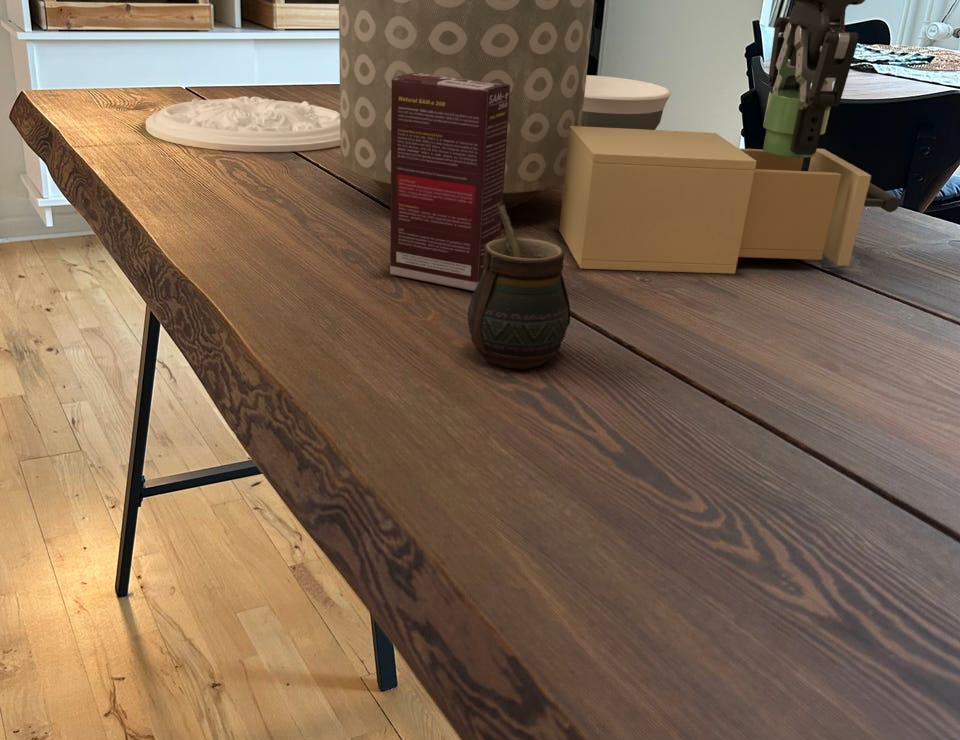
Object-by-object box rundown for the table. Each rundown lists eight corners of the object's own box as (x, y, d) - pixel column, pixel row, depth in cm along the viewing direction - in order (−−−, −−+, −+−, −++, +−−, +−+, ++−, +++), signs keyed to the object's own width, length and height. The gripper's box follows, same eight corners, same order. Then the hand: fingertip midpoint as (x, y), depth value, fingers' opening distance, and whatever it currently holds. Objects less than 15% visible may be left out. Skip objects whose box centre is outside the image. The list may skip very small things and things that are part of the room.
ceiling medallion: (262, 162, 122) (261, 134, 121) (99, 126, 134) (96, 100, 132) (399, 132, 143) (400, 108, 141) (248, 103, 155) (246, 81, 153)
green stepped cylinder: (807, 147, 99) (818, 91, 96) (829, 159, 94) (842, 101, 91) (750, 144, 98) (761, 88, 95) (770, 157, 93) (781, 98, 91)
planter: (493, 250, 97) (512, -38, 84) (291, 201, 108) (282, -61, 95) (611, 203, 115) (641, -39, 103) (429, 165, 126) (436, -58, 114)
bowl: (497, 142, 141) (501, 77, 137) (590, 131, 152) (596, 71, 148) (597, 170, 130) (605, 101, 125) (689, 156, 141) (700, 92, 136)
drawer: (849, 234, 106) (869, 150, 102) (896, 268, 97) (921, 177, 93) (678, 227, 105) (691, 142, 100) (709, 261, 95) (726, 168, 91)
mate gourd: (505, 385, 70) (516, 238, 65) (442, 348, 75) (448, 209, 70) (585, 366, 74) (602, 225, 68) (520, 332, 79) (531, 199, 73)
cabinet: (698, 235, 106) (716, 132, 101) (735, 273, 95) (757, 160, 90) (558, 230, 104) (569, 125, 99) (580, 268, 94) (593, 153, 88)
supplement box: (500, 278, 89) (514, 83, 81) (476, 294, 86) (489, 89, 77) (412, 261, 92) (417, 70, 84) (386, 275, 89) (388, 76, 80)
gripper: (913, -56, 81) (860, 165, 90) (842, -62, 93) (801, 133, 102) (822, -62, 80) (777, 162, 89) (763, -67, 93) (728, 130, 101)
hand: (790, 146), depth 96 cm, fingers closed on green stepped cylinder, 5 cm apart
